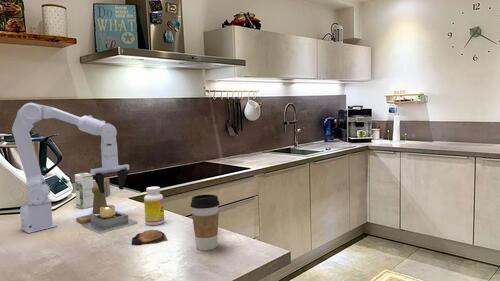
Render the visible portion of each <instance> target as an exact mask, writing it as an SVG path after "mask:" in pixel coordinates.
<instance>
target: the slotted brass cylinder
mask: <svg viewBox="0 0 500 281" xmlns="http://www.w3.org/2000/svg"><path fill="white" fill-rule="evenodd" d="M115 211H116V206H115V205H114V204H107V205H103V206H101V207H100V214H99V215H100V219H103V220H107V219H111V218H115Z"/></svg>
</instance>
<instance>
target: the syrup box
mask: <svg viewBox="0 0 500 281" xmlns="http://www.w3.org/2000/svg"><path fill="white" fill-rule="evenodd" d="M74 184H75V185H74V187H75V203H76V208H78V209H80V210H84V209H88V208H93V198H94V194H93V192H92V188H93V186H94V178H93V176H92V175H91V174H90V173H88V172H81V173H76V174H74Z"/></svg>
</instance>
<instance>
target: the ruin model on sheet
mask: <svg viewBox="0 0 500 281" xmlns="http://www.w3.org/2000/svg"><path fill="white" fill-rule="evenodd" d="M110 183H111V182H110V178H108V177H106V178H105V177H104V186H105V188H106V191H105V198H108V196H109V194H110V193H111V186H110Z"/></svg>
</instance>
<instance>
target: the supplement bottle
mask: <svg viewBox="0 0 500 281" xmlns="http://www.w3.org/2000/svg"><path fill="white" fill-rule="evenodd" d="M145 192H146V194H145V196H144V197H143V200H144V202H143V204H144V220H145V224H146V225H147V226H157V225H162V224H163V223H164V222H165V208H164V207H165V206H164V196H163V194H161V193H160V192H161V187H160V186H150V187H149V186H148V187H146V191H145Z"/></svg>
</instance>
